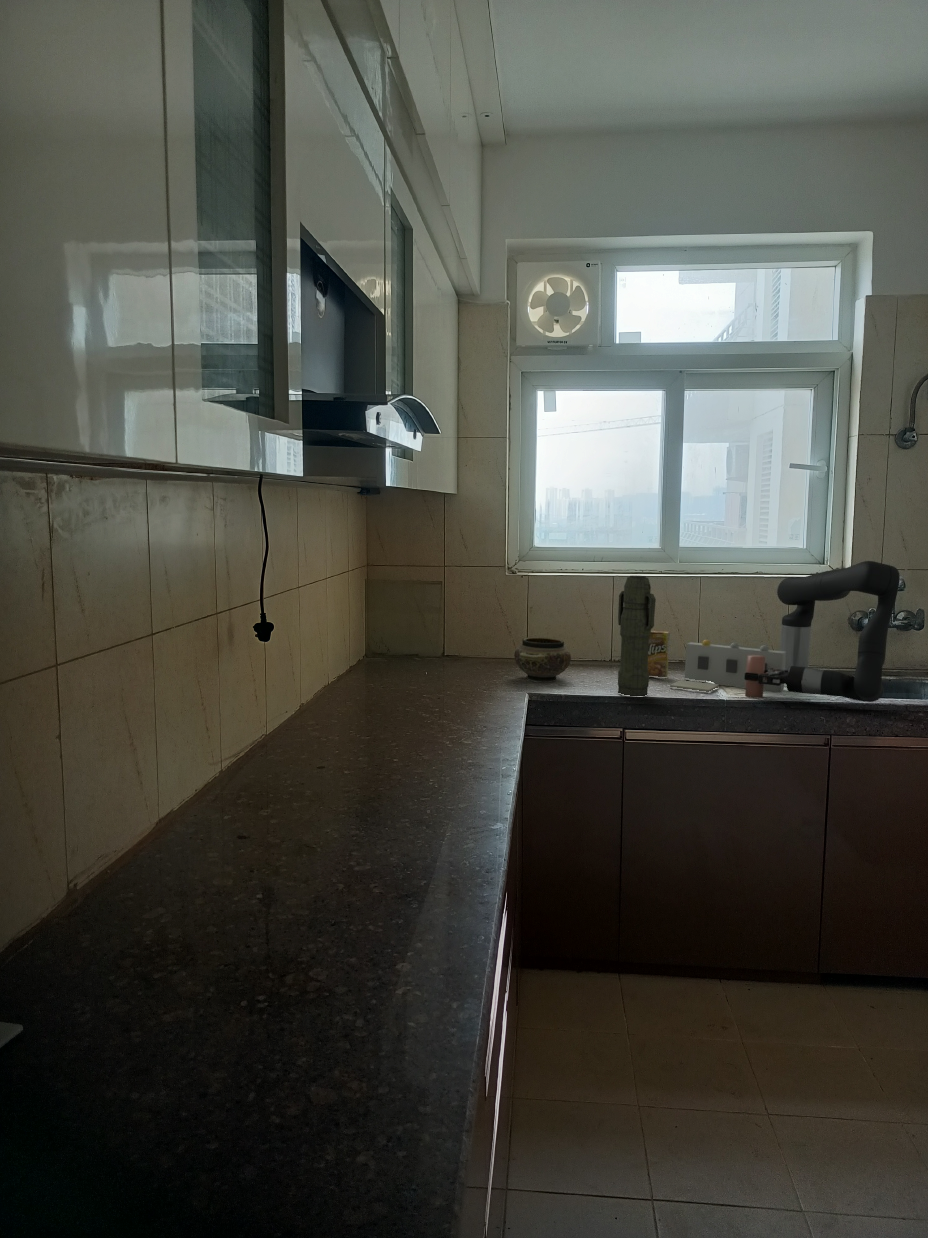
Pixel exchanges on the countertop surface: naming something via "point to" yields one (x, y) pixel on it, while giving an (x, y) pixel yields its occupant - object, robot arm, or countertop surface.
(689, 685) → the pad
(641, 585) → the thermos
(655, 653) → the candy box
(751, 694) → the pink cylinder
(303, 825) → the countertop surface
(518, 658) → the ceramic bowl
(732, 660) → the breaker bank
